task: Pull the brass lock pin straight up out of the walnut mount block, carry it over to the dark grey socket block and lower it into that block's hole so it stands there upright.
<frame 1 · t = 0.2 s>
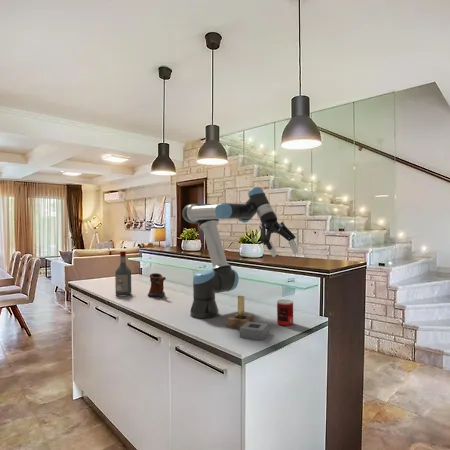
hand: (286, 254, 146), 35 cm above the counter, tool tilted 35°, fingers open, 13 cm apart
lock pin: (241, 310, 156), in the mount block
liquor: (123, 294, 227), on the counter
socket block: (254, 334, 143), on the counter
canned food: (285, 324, 158), on the counter
mount block: (241, 325, 156), on the counter
mug: (158, 297, 219), on the counter
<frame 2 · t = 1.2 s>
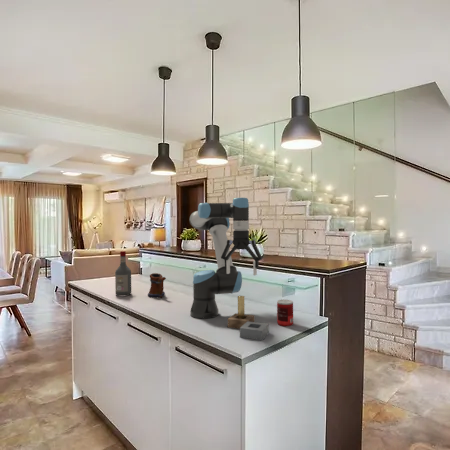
hand: (241, 274, 156), 25 cm above the counter, tool pointing down, fingers open, 13 cm apart
nothing on the counter moved.
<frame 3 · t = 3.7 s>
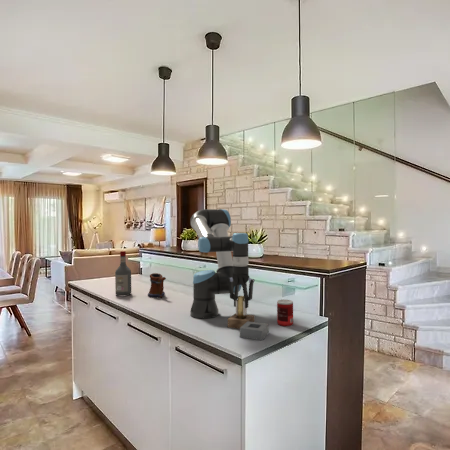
hand: (241, 313, 156), 6 cm above the counter, tool pointing down, fingers closed on lock pin, 3 cm apart
lock pin: (241, 310, 156), in the mount block, touching gripper
everything else where it was.
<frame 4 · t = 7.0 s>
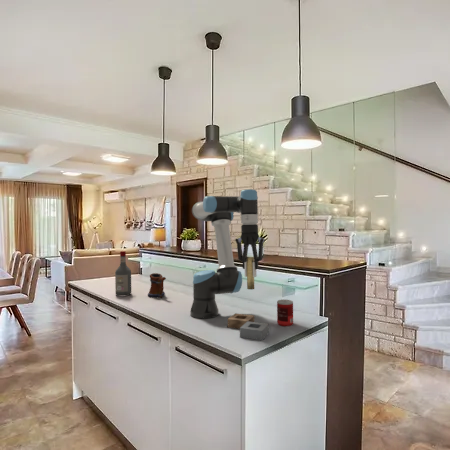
hand: (250, 276, 146), 25 cm above the counter, tool pointing down, fingers closed on lock pin, 3 cm apart
lock pin: (250, 273, 146), point 27 cm above the counter, touching gripper
everything else where it was.
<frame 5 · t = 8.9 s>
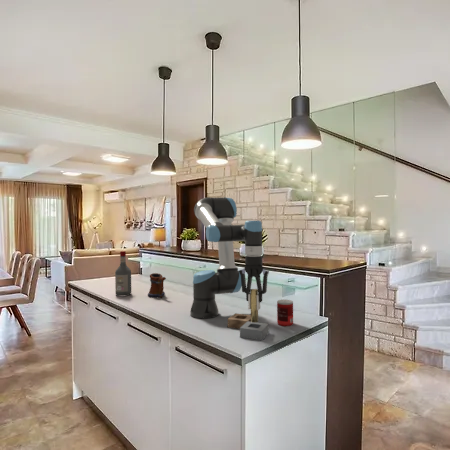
hand: (254, 308, 143), 12 cm above the counter, tool pointing down, fingers closed on lock pin, 3 cm apart
lock pin: (254, 305, 143), point 13 cm above the counter, touching gripper
everything else where it was.
when the fingers open (6 cm above the counter, at t = 10.6 s): lock pin stays where it is, resting in socket block.
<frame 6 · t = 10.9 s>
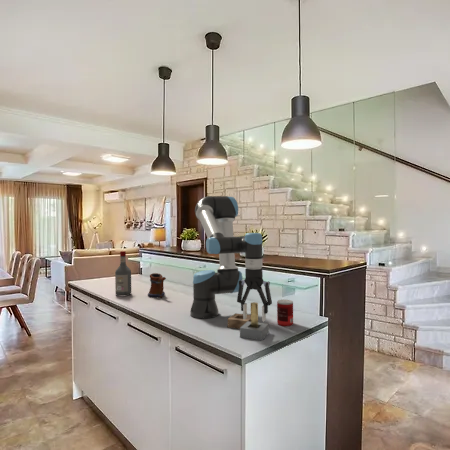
hand: (254, 319, 143), 7 cm above the counter, tool pointing down, fingers open, 8 cm apart
lock pin: (254, 319, 143), in the socket block
everything else where it was.
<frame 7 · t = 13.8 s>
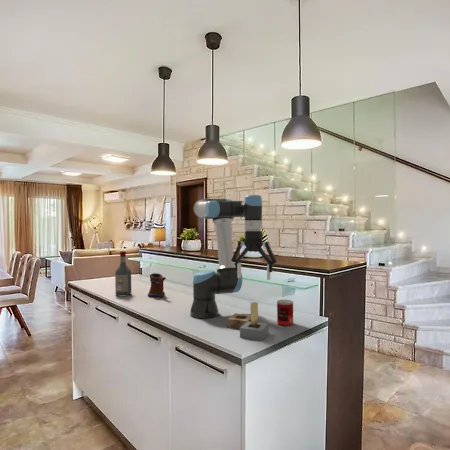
hand: (253, 278, 143), 25 cm above the counter, tool pointing down, fingers open, 13 cm apart
nothing on the counter moved.
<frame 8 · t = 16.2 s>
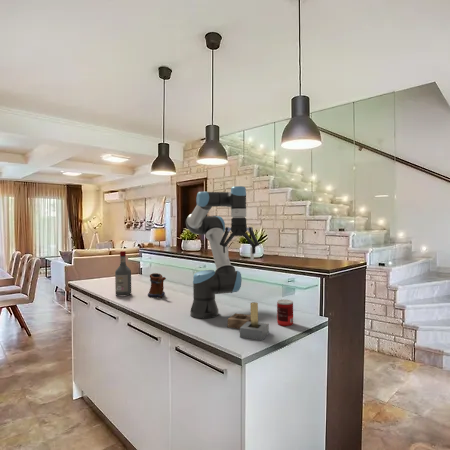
hand: (239, 260, 163), 31 cm above the counter, tool pointing down, fingers open, 13 cm apart
nothing on the counter moved.
at the end: lock pin 0.0 cm off-centre on the socket block, point 7.0 cm above the socket block's base; lock pin tilted 0°; the gripper is holding nothing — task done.
